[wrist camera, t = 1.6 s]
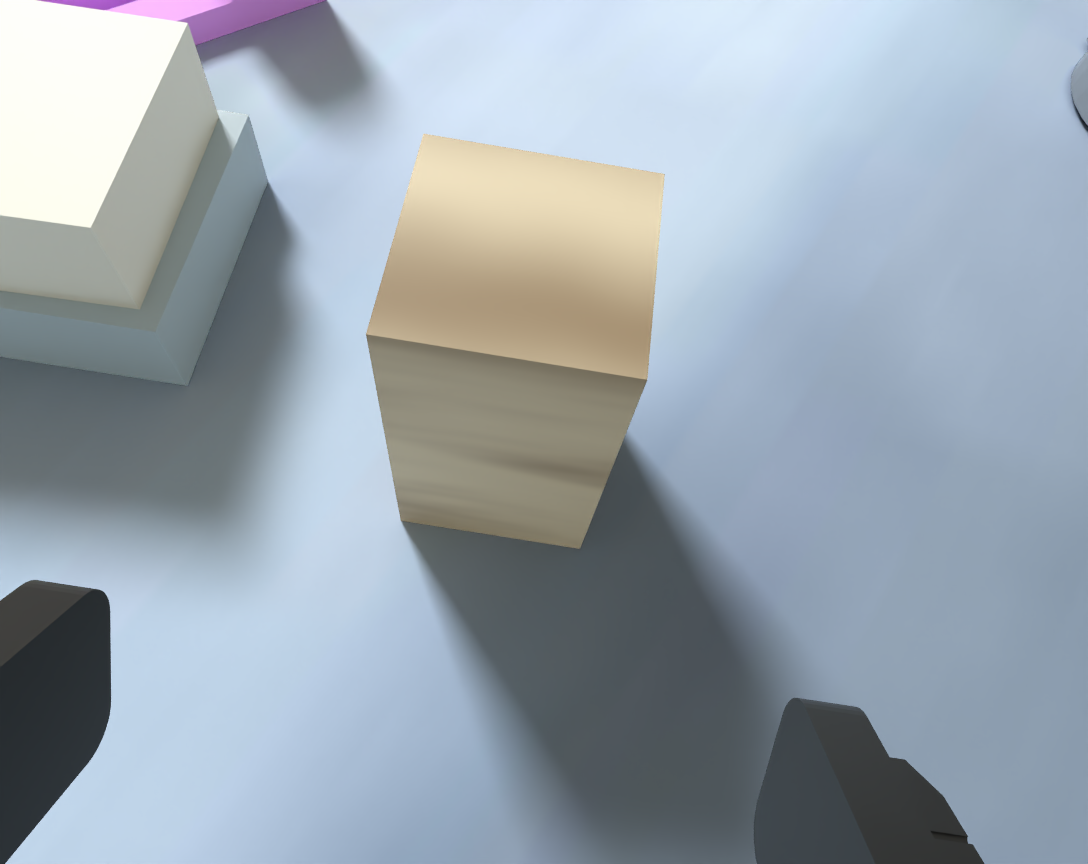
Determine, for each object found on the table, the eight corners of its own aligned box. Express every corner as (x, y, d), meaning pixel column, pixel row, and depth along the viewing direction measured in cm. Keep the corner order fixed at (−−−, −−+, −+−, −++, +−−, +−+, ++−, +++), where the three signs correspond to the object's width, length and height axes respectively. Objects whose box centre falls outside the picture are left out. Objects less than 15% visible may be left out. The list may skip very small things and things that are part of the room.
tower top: (-22, 82, 27) (-86, -19, 24) (219, 117, 27) (187, 22, 24) (-142, 271, 23) (-235, 182, 20) (139, 309, 23) (90, 227, 20)
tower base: (31, 150, 30) (-18, 71, 27) (270, 189, 30) (248, 114, 27) (-86, 350, 26) (-161, 282, 23) (191, 392, 26) (155, 332, 23)
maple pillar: (435, 368, 27) (423, 133, 18) (598, 394, 27) (664, 173, 18) (401, 520, 24) (365, 334, 15) (580, 549, 24) (647, 379, 16)
